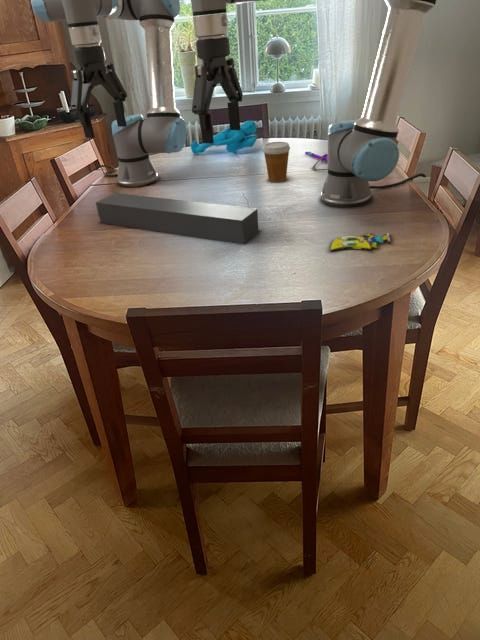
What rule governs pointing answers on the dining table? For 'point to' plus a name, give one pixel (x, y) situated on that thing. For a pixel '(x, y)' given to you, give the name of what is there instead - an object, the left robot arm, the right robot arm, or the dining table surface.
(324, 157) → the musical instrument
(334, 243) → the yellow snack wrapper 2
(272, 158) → the disposable coffee cup
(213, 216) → the thick board
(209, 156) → the dining table surface
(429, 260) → the dining table surface
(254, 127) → the toy
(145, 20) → the left robot arm
